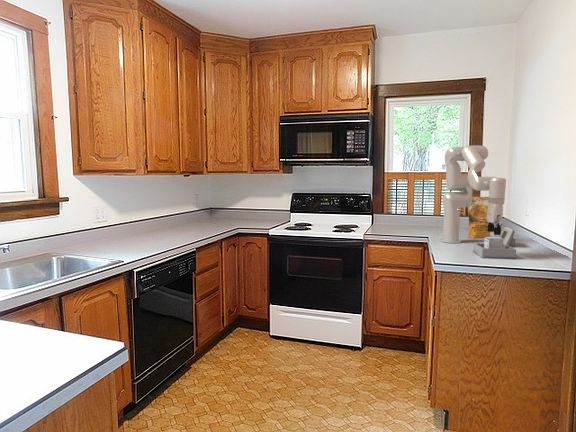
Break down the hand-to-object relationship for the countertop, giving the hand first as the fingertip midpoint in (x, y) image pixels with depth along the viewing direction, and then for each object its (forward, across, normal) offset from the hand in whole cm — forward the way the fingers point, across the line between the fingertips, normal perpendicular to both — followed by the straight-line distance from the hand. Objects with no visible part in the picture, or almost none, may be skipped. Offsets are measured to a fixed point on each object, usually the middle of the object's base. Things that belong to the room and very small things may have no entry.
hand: (493, 233), depth 206 cm
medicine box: (+11, +1, 0) cm, 11 cm away
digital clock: (+13, -33, +18) cm, 40 cm away
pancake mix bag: (+14, -61, +11) cm, 64 cm away
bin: (+12, +1, 0) cm, 12 cm away
